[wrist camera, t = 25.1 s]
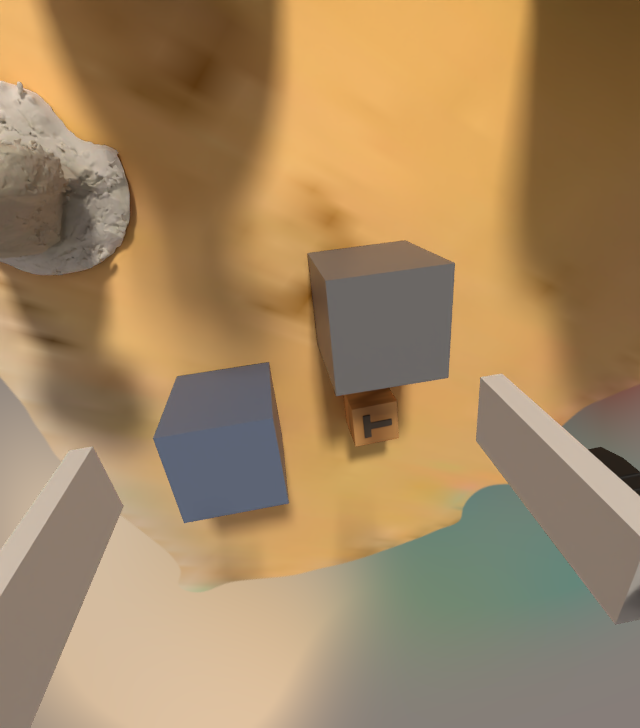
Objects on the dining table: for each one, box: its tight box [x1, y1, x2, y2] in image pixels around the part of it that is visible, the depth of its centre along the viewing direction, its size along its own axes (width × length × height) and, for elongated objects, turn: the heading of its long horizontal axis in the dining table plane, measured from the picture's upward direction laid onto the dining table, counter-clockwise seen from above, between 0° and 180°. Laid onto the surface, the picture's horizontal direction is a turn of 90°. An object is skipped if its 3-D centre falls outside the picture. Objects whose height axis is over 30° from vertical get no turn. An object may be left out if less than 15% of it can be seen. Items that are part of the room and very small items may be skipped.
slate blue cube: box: [153, 362, 289, 523], centre depth 36 cm, size 9×9×10 cm
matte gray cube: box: [308, 241, 455, 396], centre depth 33 cm, size 9×9×10 cm
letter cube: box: [344, 388, 399, 447], centre depth 41 cm, size 4×4×5 cm
